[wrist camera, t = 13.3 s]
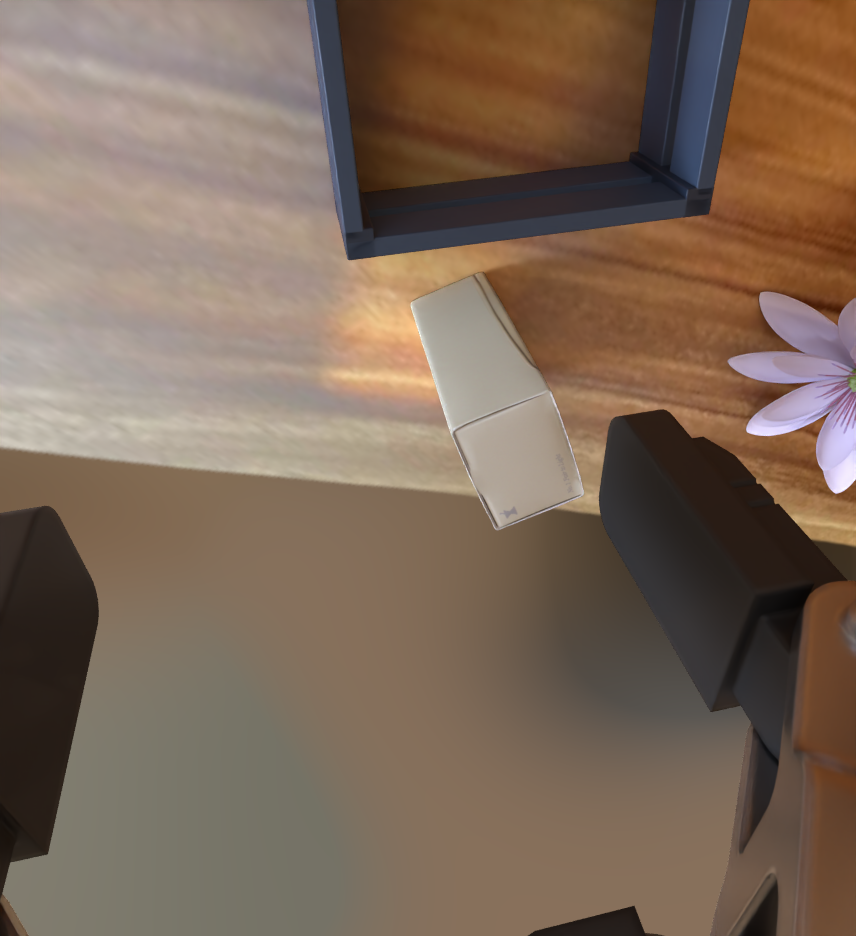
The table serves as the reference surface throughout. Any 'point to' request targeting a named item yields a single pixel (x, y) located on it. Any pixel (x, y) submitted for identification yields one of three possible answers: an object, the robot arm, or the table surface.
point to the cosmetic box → (496, 403)
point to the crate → (558, 191)
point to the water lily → (825, 358)
